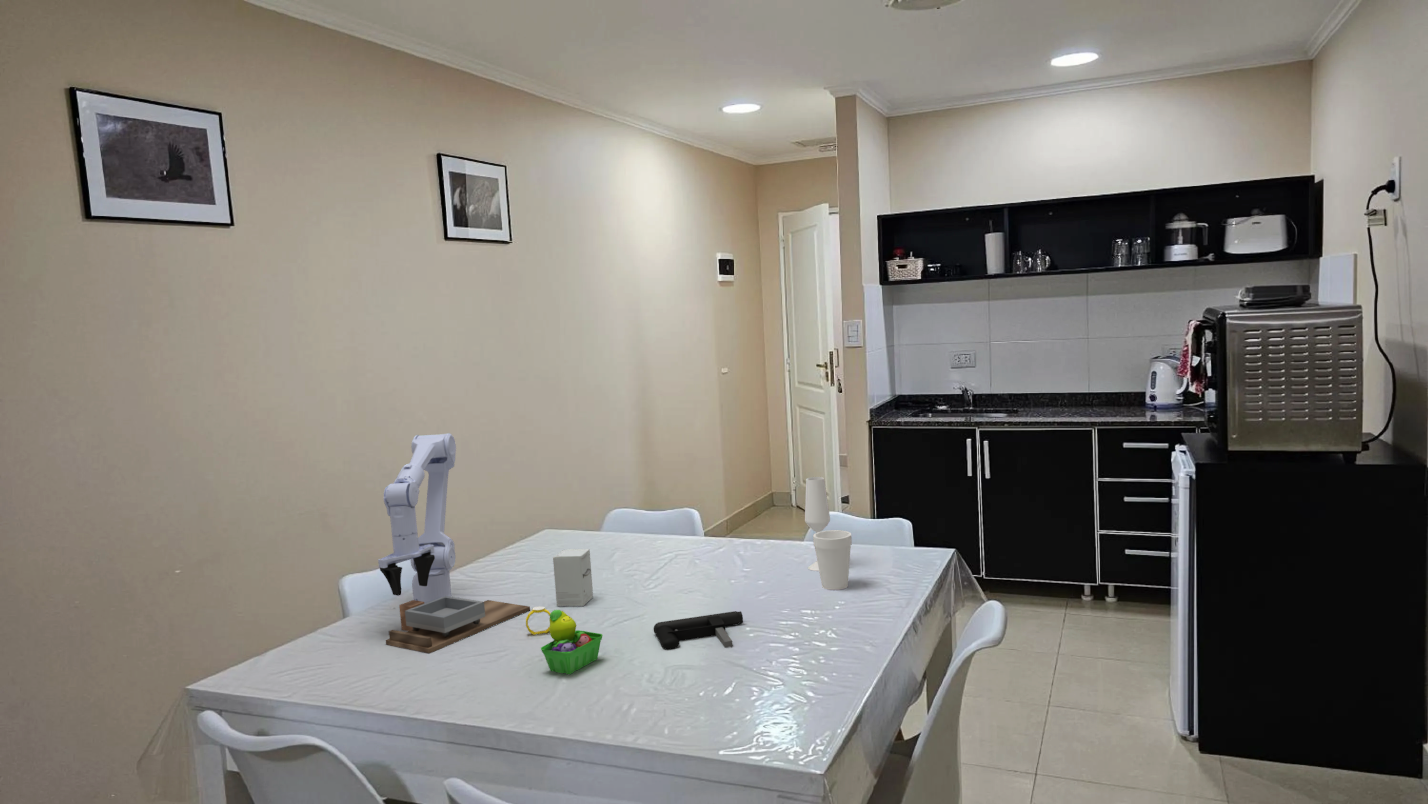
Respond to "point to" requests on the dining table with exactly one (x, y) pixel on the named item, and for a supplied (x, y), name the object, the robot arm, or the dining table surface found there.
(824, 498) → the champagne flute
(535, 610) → the watch
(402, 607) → the part block
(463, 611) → the tray
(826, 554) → the foam cup
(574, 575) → the supplement box
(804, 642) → the dining table surface
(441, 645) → the board
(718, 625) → the door handle
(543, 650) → the fruit basket
